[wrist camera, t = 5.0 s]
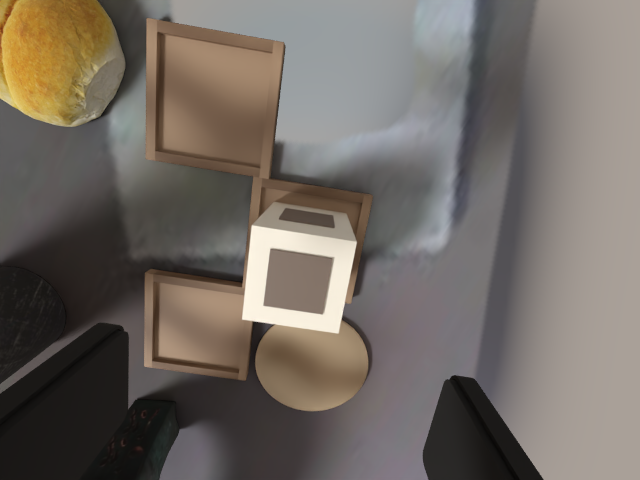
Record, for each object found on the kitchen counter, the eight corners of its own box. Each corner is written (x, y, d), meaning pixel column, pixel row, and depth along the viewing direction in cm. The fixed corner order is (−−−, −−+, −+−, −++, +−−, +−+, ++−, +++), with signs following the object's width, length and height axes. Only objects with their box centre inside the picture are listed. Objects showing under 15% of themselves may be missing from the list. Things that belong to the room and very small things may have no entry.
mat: (262, 303, 24) (261, 306, 24) (378, 321, 24) (379, 323, 24) (250, 399, 26) (249, 403, 26) (356, 413, 27) (356, 417, 26)
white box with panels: (274, 200, 21) (251, 223, 15) (346, 211, 22) (357, 240, 15) (265, 269, 23) (241, 320, 16) (334, 279, 23) (338, 334, 16)
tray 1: (153, 23, 19) (146, 17, 18) (285, 46, 19) (283, 42, 18) (152, 158, 21) (145, 159, 20) (270, 177, 21) (268, 179, 21)
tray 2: (150, 268, 23) (144, 272, 23) (258, 285, 24) (255, 289, 23) (149, 360, 25) (144, 366, 25) (247, 373, 26) (245, 380, 25)
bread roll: (12, -68, 18) (-73, -128, 14) (150, 40, 19) (107, 12, 16) (-40, 60, 20) (-127, 38, 16) (90, 150, 21) (38, 150, 17)
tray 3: (255, 175, 21) (253, 176, 21) (371, 194, 22) (373, 196, 21) (244, 283, 24) (242, 287, 23) (349, 298, 24) (350, 303, 23)
